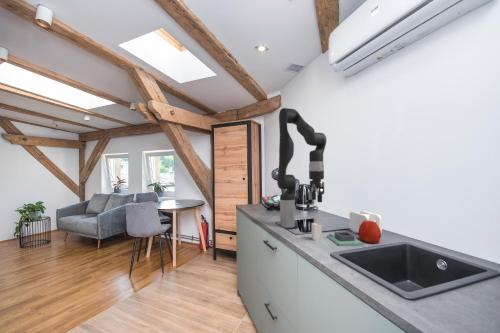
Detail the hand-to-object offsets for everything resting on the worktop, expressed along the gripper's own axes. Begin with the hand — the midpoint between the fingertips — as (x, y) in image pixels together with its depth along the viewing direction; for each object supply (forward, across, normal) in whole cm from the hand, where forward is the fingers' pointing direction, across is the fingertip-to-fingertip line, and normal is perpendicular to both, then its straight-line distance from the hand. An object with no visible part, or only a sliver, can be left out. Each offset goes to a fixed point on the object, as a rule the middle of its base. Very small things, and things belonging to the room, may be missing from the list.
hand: (316, 200), depth 117 cm
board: (+20, +4, +13) cm, 24 cm away
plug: (+20, 0, 0) cm, 20 cm away
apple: (+20, +5, +26) cm, 33 cm away
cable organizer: (+20, -8, +31) cm, 38 cm away
